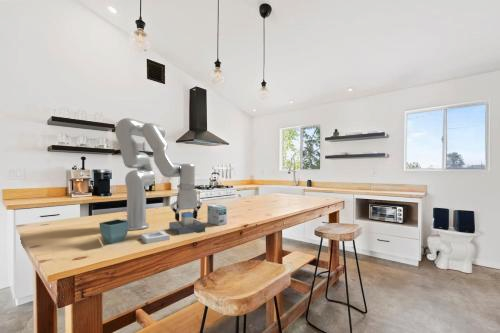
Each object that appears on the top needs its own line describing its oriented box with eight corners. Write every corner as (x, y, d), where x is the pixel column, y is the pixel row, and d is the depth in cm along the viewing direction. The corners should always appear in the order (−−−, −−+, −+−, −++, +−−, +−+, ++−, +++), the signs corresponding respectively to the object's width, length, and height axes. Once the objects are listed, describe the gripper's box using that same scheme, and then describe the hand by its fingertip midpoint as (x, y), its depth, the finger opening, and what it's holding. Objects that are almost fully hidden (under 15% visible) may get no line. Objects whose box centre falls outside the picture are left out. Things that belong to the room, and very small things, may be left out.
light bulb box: (227, 223, 145) (227, 205, 145) (218, 225, 140) (218, 207, 140) (215, 221, 152) (215, 203, 152) (206, 223, 147) (206, 205, 147)
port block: (179, 235, 119) (179, 227, 119) (169, 229, 130) (169, 221, 130) (205, 231, 127) (205, 223, 127) (193, 226, 138) (193, 218, 138)
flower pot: (109, 246, 102) (109, 225, 102) (98, 243, 107) (98, 222, 107) (129, 241, 110) (129, 221, 110) (118, 238, 114) (118, 219, 114)
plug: (184, 231, 125) (184, 213, 125) (181, 229, 129) (181, 212, 129) (193, 230, 128) (193, 212, 128) (189, 228, 132) (189, 211, 132)
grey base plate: (146, 244, 105) (146, 239, 105) (140, 239, 113) (140, 233, 113) (169, 240, 111) (169, 235, 111) (162, 235, 119) (162, 230, 119)
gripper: (173, 188, 121) (172, 222, 121) (205, 187, 131) (204, 219, 131) (168, 187, 127) (167, 220, 127) (199, 186, 137) (198, 216, 137)
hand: (186, 219), depth 129 cm, fingers open, 9 cm apart
